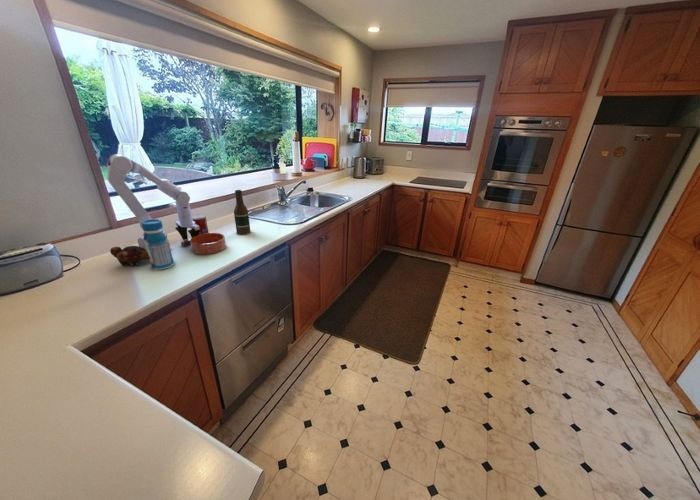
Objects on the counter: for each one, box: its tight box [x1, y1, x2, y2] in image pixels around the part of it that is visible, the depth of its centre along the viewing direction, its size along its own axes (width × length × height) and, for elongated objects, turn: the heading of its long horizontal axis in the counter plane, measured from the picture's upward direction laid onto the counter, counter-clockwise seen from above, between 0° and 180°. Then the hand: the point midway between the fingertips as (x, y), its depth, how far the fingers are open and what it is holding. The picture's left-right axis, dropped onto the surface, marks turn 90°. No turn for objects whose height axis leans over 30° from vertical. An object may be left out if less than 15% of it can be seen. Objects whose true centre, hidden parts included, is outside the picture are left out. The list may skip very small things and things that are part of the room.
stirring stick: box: [180, 237, 192, 248], centre depth 142 cm, size 9×2×2 cm, turn 155°
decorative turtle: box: [109, 245, 150, 267], centre depth 120 cm, size 10×15×8 cm, turn 104°
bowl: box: [189, 232, 227, 255], centre depth 136 cm, size 15×15×6 cm
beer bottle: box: [233, 189, 251, 236], centre depth 154 cm, size 8×8×24 cm
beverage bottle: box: [141, 218, 175, 271], centre depth 116 cm, size 8×8×20 cm
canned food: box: [192, 213, 210, 235], centre depth 150 cm, size 8×8×11 cm
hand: (190, 240), depth 142 cm, fingers open, 7 cm apart
